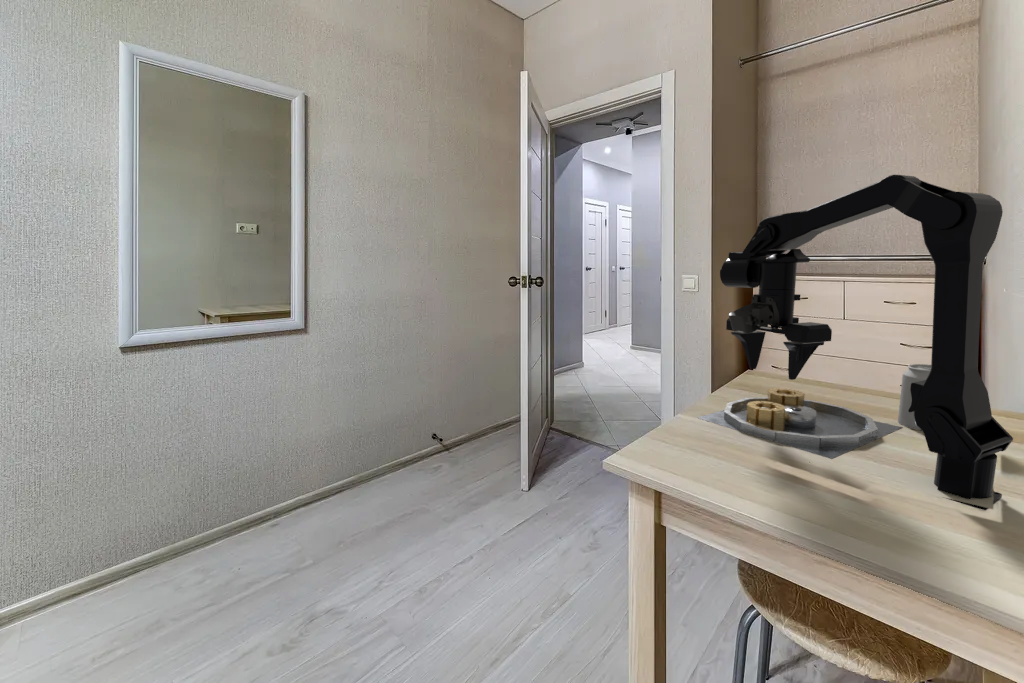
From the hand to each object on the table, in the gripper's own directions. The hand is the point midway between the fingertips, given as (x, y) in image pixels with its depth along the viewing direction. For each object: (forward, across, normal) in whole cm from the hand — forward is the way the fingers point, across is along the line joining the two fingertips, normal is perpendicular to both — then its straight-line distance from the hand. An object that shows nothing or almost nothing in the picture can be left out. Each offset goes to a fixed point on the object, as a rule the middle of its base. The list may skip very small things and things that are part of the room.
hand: (771, 373), depth 89 cm
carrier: (+11, 0, +6) cm, 13 cm away
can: (+11, +9, +26) cm, 30 cm away
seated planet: (+10, -6, +10) cm, 15 cm away
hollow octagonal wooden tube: (+10, 0, -1) cm, 10 cm away
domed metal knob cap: (+10, 0, +6) cm, 12 cm away
